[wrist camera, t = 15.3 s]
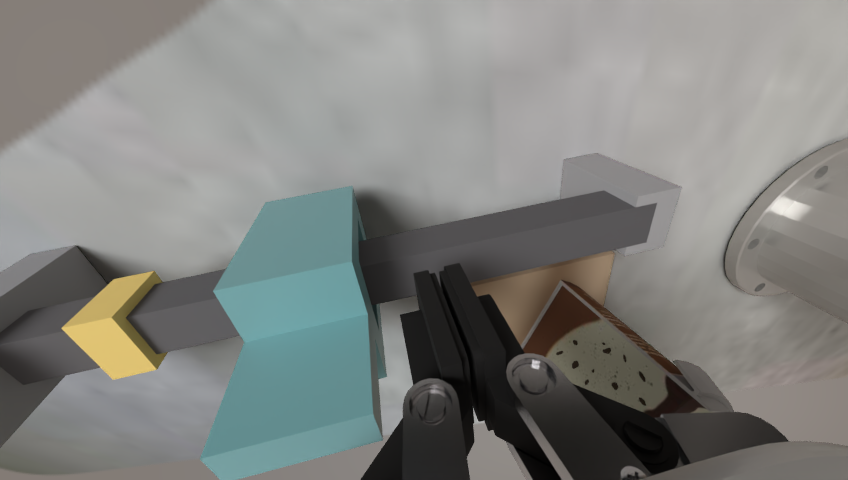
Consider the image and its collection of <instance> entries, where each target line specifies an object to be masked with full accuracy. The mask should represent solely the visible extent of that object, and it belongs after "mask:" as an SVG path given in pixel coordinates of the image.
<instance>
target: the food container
mask: <svg viewBox="0 0 848 480" xmlns="http://www.w3.org/2000/svg"><path fill="white" fill-rule="evenodd" d="M521 347H522V349H523V351H524V352H525V353H534V354H538V355H542V356H544V357H546V358H548V359H549V360H551V361H552V362H553V363H554V364H555V365H556V366H557V367H558V368H559V369H560V370H561V371H562V372H563V374H564V375H565V376H566V377H567V378H568V379H569V380H570V382H571V383H572V384H575V385H577V386H580V387H582V388H585V389H587V390H590V391H592V392H595V393H597V394H599V395H602V396H604V397H607V398H609V399H612V400H614V401H617V402H619V403H622V404H624V405H626V406H629V407H631V408H634V409H636V410H639V411H641V412H644V413H646V414H648V415H649V416H651V417H653V418H657V417H660V416H661V414H671V413H711V412H734V410H733V409H732V406H731V405H730V403H729V401H728V400H727V399H726V397H725V396H724V395H723V394H722V392H721V391H720V390H719V389H718V387H717V386H716V385H715V384H714V382H713V381H712V380H711V378H710V377H709V376H708V375H707V373H706V372H704V371H703V370H702V369H701V368H700V367H698V366H696V365H694V364H691V363H689V362H685V361H679V360H675V361H673V362H674V364H675V365H676V366H677V367H676V366H675V365H674V364H673V363H672V362H670V361H669V360H668V359H667V358H665V357H664V356H663V355H662V354H661V353H659V352H658V351H657V350H656V349H654V348H653V347H652V346H651V345H650V344H648V343H647V342H646V341H645V340H643V339H642V338H641V337H640V336H639V335H637V334H636V333H635V332H634V331H632V330H631V329H630V328H629V327H628V326H626V325H625V324H624V323H623V322H621V321H620V320H619V319H618V318H617V317H615V316H614V315H613V314H612V313H610V312H609V311H608V310H607V309H606V308H604V307H603V306H602V305H601V304H599V303H598V302H597V301H596V300H595V299H593V298H592V297H591V296H590V295H588V294H587V293H586V292H585V291H584V290H582V289H581V288H580V287H578V286H577V285H575V284H573V283H571V282H567V281H563V280H560V282H559V284H558V285H557V287H556V288H555V290H554V292H553V293H552V295H551V297H550V298H549V300H548V302H547V303H546V305H545V306H544V308H543V310H542V311H541V313H540V315H539V316H538V318H537V320H536V321H535V323H534V325H533V326H532V328H531V329H530V331H529V333H528V334H527V336H526V338H525V339H524V341H523V343H522V344H521Z"/></svg>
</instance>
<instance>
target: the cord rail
mask: <svg viewBox="0 0 848 480" xmlns="http://www.w3.org/2000/svg"><path fill="white" fill-rule="evenodd" d="M681 188H682V187H680V186H678V185H675V184H673V183H670V182H668V181H665V180H663V179H660V178H658V177H655V176H653V175H650V174H648V173H645V172H643V171H640V170H638V169H635V168H633V167H630V166H628V165H625V164H623V163H621V162H618V161H616V160H613V159H611V158H608V157H606V156H603V155H601V154H598V153H595V154H589V155H584V156H579V157H574V158H569V159H564V163H563V174H562V184H561V194H560V200H555V201H551V202H546V203H541V204H536V205H531V206H527V207H522V208H517V209H512V210H507V211H503V212H498V213H493V214H488V215H484V216H479V217H474V218H469V219H464V220H460V221H455V222H450V223H445V224H440V225H436V226H431V227H426V228H421V229H416V230H412V231H407V232H402V233H397V234H393V235H388V236H383V237H378V238H373V239H369V240H364V241H359V242H358V244H359V263H360V267H361V270H362V274H363V277H364V280H365V284H366V287H367V291H368V294H369V298H370V301H371V305H375V304H380V303H384V302H389V301H393V300H397V299H402V298H406V297H410V296H415V295H417V293H416V287H415V282H414V276H413V273H416V272H421V271H425V270H428V271H429V273H435V274H436V276H437V279H438V281H439V284H440V276H439V271H444V266H447V265H452V264H456V263H460V265H461V267H462V269H463V270H464V272H465V274H466V276H467V278H468V280H469V282H470V283H472V282H476V281H480V280H485V279H489V278H494V277H498V276H502V275H507V274H511V273H515V272H520V271H524V270H529V269H533V268H537V267H542V266H546V265H550V264H555V263H559V262H563V261H568V260H572V259H577V258H581V257H585V256H590V255H594V254H598V253H603V252H607V251H612V250H617V251H618V252H619V253H621V254H622V255H623V256H627V255H632V254H636V253H640V252H645V251H649V250H653V249H657V248H662V247H664V244H665V241H666V237H667V234H668V231H669V228H670V224H671V221H672V218H673V215H674V211H675V208H676V205H677V202H678V198H679V195H680V192H681ZM225 270H226V269H225ZM225 270H220V271H215V272H211V273H206V274H201V275H196V276H191V277H187V278H182V279H177V280H172V281H167V282H162V281H161V279H160V278H159V277H158V275H157V274H156V272H155V271H152V272H147V273H142V274H137V275H132V276H127V277H122V278H117V279H113V280H112V281H111V282H110V283H109V284H107V283H106V282H105V280H104V279H103V278H102V277H101V276H100V274H99V273H98V272H97V271H96V269H95V268H94V267H93V266H92V265H91V263H90V262H89V261H88V260H87V259H86V257H85V256H84V255H83V254H82V252H81V251H80V250H79V249H78V248H77V246H76V245H75V246H70V247H65V248H60V249H55V250H49V251H44V252H39V253H34V254H30V255H28V256H26V257H25V258H23V259H21V260H20V261H18V262H17V263H15V264H13V265H12V266H10V267H8V268H7V269H5V270H4V271H2V272H0V448H1V447H2V445H3V444H4V443H5V442H6V441H7V440H8V439H9V438H10V437H11V435H12V434H13V433H14V432H15V431H16V430H17V429H18V428H19V427H20V425H21V424H22V423H23V422H24V421H25V420H26V419H27V418H28V417H29V415H30V414H31V413H32V412H33V411H34V410H35V409H36V408H37V407H38V405H39V404H40V403H41V402H42V401H43V400H44V399H45V398H46V397H47V395H48V394H49V393H50V392H51V391H52V390H53V389H54V388H55V387H56V385H57V384H58V383H59V382H60V381H61V380H62V379H63V378H64V377H65V375H69V374H74V373H78V372H82V371H87V370H91V369H96V368H100V367H101V368H102V369H103V370H104V371H105V372H106V373H107V374H108V375H109V376H110V377H111V378H112V379H113V380H114V379H118V378H123V377H127V376H131V375H136V374H140V373H144V372H148V371H153V370H157V369H158V367H159V365H160V364H161V362H162V361H163V359H164V357H165V356H166V354H167V353H168V352H170V351H174V350H179V349H183V348H187V347H192V346H196V345H200V344H205V343H209V342H214V341H218V340H222V339H227V338H231V337H235V336H240V334H239V333H238V331H237V330H236V328H235V326H234V325H233V323H232V321H231V320H230V318H229V317H228V315H227V313H226V312H225V310H224V308H223V307H222V305H221V304H220V302H219V300H218V299H217V297H216V295H215V294H214V292H213V290H214V289H215V287H216V285H217V284H218V282H219V280H220V279H221V277H222V275H223V274H224V272H225ZM440 287H441V284H440Z"/></svg>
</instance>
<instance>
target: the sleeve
mask: <svg viewBox="0 0 848 480" xmlns="http://www.w3.org/2000/svg"><path fill="white" fill-rule="evenodd" d="M364 240H367V239H366V236H365V232H364V228H363V224H362V220H361V217H360V213H359V209H358V205H357V201H356V197H355V194H354V190H353V186H349V187H344V188H339V189H334V190H329V191H323V192H318V193H313V194H308V195H303V196H297V197H292V198H287V199H282V200H276V201H271V202H266V203H265V205H264V206H263V208H262V210H261V211H260V213H259V215H258V216H257V218H256V220H255V222H254V223H253V225H252V227H251V228H250V230H249V232H248V233H247V235H246V237H245V238H244V240H243V242H242V243H241V245H240V247H239V248H238V250H237V252H236V253H235V255H234V257H233V258H232V260H231V262H230V263H229V265H228V267H227V268H226V270H225V272H224V274H223V275H222V277H221V279H220V280H219V282H218V284H217V285H216V287H215V289H214V290H213V292H214V294H215V295H216V297H217V299H218V300H219V302H220V304H221V305H222V307H223V308H224V310H225V312H226V313H227V315H228V317H229V318H230V320H231V321H232V323H233V325H234V326H235V328H236V330H237V331H238V333H239V334H240V336H241V338H242V339H243V341H244V345H243V347H242V350H241V353H240V355H239V358H238V360H237V363H236V366H235V368H234V371H233V374H232V376H231V379H230V381H229V384H228V387H227V389H226V392H225V395H224V397H223V400H222V402H221V405H220V408H219V410H218V413H217V416H216V418H215V421H214V423H213V426H212V429H211V431H210V434H209V437H208V439H207V442H206V445H205V447H204V450H203V452H202V455H201V458H200V460H201V461H202V462H203V463H204V464H205V465H207V467H208V468H209V469H210V470H211V471H212V472H213V473H214V474H215V475H216V476H217V477H218V478H219V479H220V480H237V479H240V478H244V477H248V476H252V475H256V474H259V473H263V472H267V471H270V470H274V469H278V468H281V467H285V466H289V465H293V464H296V463H300V462H304V461H308V460H311V459H315V458H319V457H322V456H326V455H330V454H333V453H337V452H341V451H345V450H348V449H352V448H356V447H359V446H363V445H367V444H370V443H374V442H378V441H382V440H383V435H382V422H381V409H380V395H379V382H378V379H380V378H384V377H387V374H386V365H385V355H384V345H383V335H382V326H381V316H380V306H379V304H375V305H371V301H370V298H369V294H368V291H367V287H366V284H365V280H364V277H363V274H362V270H361V267H360V263H359V244H358V242H359V241H364Z"/></svg>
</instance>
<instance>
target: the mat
mask: <svg viewBox="0 0 848 480" xmlns="http://www.w3.org/2000/svg"><path fill="white" fill-rule="evenodd" d="M614 255H615V253H614V252H612V251H607V252H603V253H598V254H594V255H590V256H585V257H581V258H577V259H572V260H568V261H563V262H559V263H555V264H550V265H546V266H542V267H537V268H533V269H529V270H524V271H520V272H515V273H511V274H507V275H502V276H498V277H494V278H489V279H485V280H480V281H476V282H472V283H470V284H471V286H472V288H473V290H474V291H475V293H476V295H477V297H478V296H482V295H486V294H490V295H491V296H492V298H493V299H494V301H495V303H496V305H497V306H498V308H499V310H500V311H501V313H502V315H503V317H504V318H505V320H506V322H507V323H508V325H509V327H510V328H511V330H512V332H513V334H514V335H515V337H516V339H517V340H518V342H519V344H520V346H521V344H522V343H523V341H524V339H525V338H526V336H527V334H528V333H529V331H530V329H531V328H532V326H533V325H534V323H535V321H536V320H537V318H538V316H539V315H540V313H541V311H542V310H543V308H544V306H545V305H546V303H547V302H548V300H549V298H550V297H551V295H552V293H553V292H554V290H555V288H556V287H557V285H558V284H559V282H560V280H563V281H567V282H571V283H573V284H575V285H577V286H578V287H580V288H581V289H582V290H584V291H585V292H586V293H587V294H588V295H590V296H591V297H592V298H593V299H595V300H596V301H597V302H598V303H599V304H601V305H602V306H604V302H605V297H606V292H607V288H608V283H609V278H610V274H611V269H612V264H613V260H614Z"/></svg>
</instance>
